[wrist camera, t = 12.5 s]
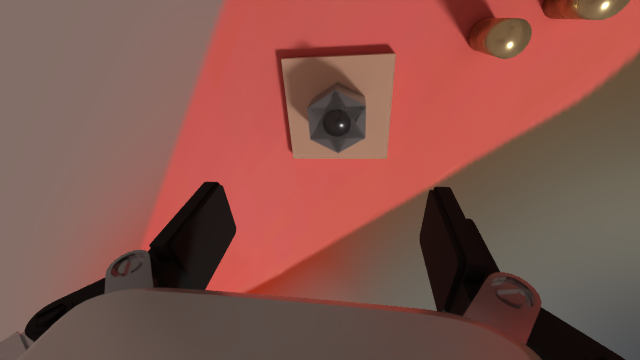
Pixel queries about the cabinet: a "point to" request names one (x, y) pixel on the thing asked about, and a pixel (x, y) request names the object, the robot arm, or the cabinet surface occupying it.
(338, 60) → the tan tile
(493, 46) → the brass standoffs
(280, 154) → the cabinet surface
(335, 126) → the steel nut
